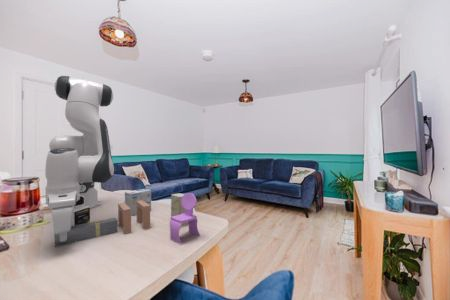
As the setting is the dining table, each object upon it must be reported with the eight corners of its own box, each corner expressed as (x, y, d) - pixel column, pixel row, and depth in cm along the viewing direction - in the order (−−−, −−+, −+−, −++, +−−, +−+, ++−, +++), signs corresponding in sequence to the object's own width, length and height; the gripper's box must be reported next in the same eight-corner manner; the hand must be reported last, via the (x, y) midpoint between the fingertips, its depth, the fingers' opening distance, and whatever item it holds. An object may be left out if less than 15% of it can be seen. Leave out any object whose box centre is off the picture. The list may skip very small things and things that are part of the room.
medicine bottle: (74, 229, 78) (74, 198, 78) (59, 228, 79) (59, 198, 79) (90, 222, 85) (90, 194, 85) (76, 221, 86) (76, 194, 86)
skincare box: (170, 223, 83) (170, 194, 83) (179, 220, 86) (179, 192, 86) (179, 227, 79) (179, 196, 79) (188, 224, 82) (188, 194, 82)
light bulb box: (144, 208, 105) (144, 188, 105) (151, 210, 101) (151, 189, 101) (124, 213, 97) (124, 191, 97) (131, 216, 93) (131, 193, 93)
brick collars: (118, 225, 81) (118, 203, 81) (142, 220, 87) (142, 200, 87) (124, 234, 73) (123, 210, 73) (150, 227, 78) (150, 205, 78)
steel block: (55, 242, 67) (55, 228, 67) (115, 229, 78) (115, 217, 78) (54, 247, 63) (54, 232, 63) (117, 232, 74) (117, 219, 75)
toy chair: (167, 238, 69) (166, 195, 69) (187, 230, 76) (187, 191, 76) (181, 245, 64) (181, 198, 64) (202, 236, 70) (201, 194, 70)
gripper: (53, 192, 73) (53, 230, 73) (48, 204, 57) (48, 252, 57) (74, 190, 77) (74, 226, 77) (75, 200, 60) (76, 246, 60)
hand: (63, 237), depth 66 cm, fingers closed on steel block, 4 cm apart
